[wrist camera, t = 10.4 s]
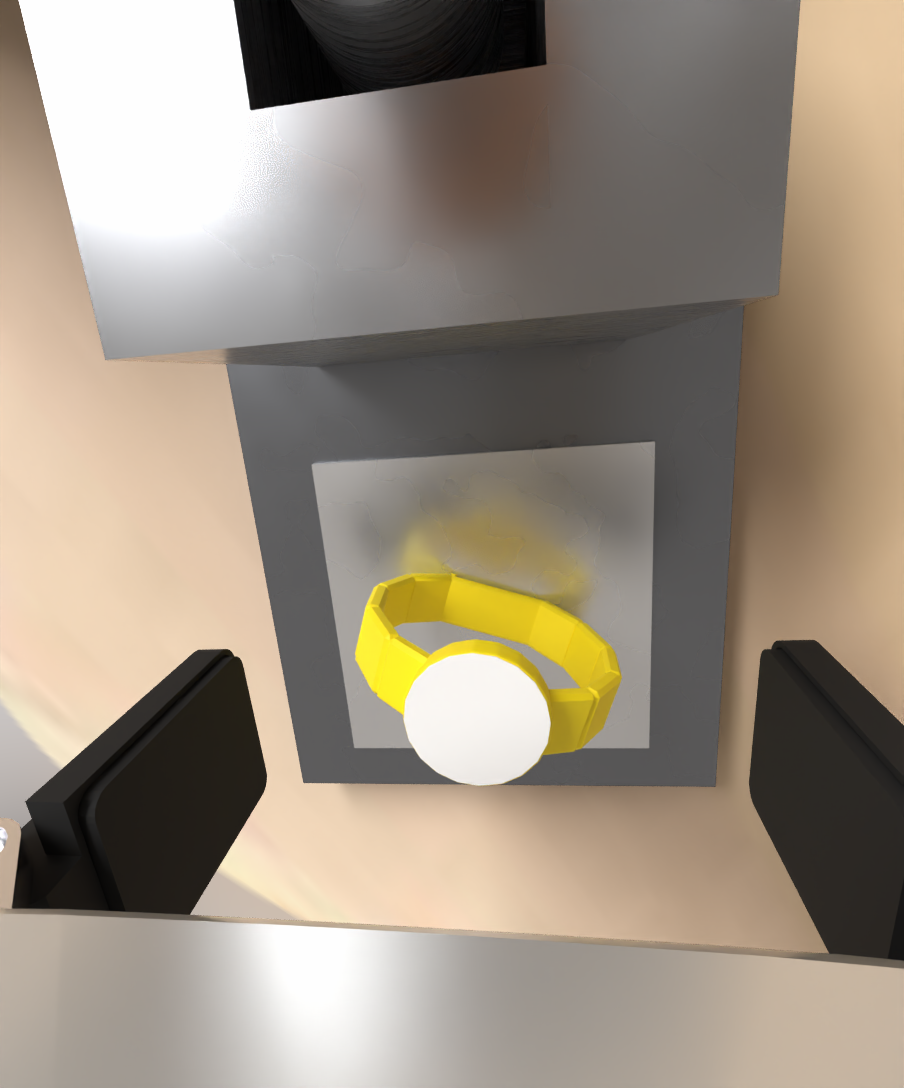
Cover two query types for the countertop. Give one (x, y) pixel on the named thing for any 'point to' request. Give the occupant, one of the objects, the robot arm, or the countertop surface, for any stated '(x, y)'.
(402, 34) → the light orange ellipsoid
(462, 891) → the countertop surface
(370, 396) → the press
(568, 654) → the watch
